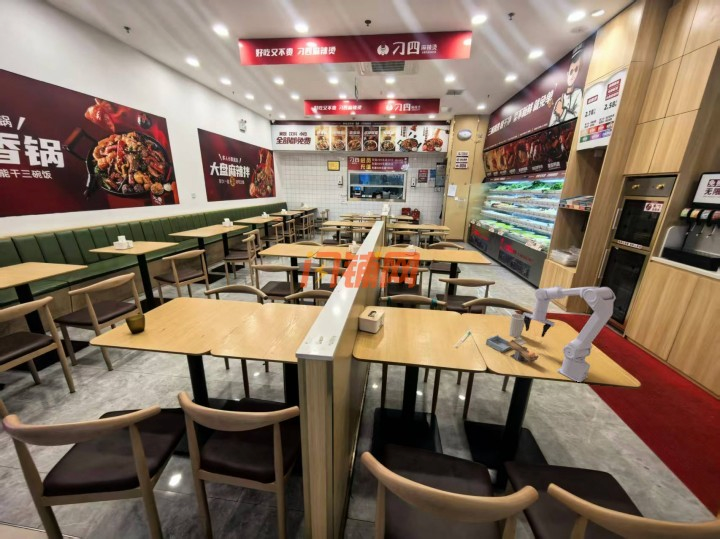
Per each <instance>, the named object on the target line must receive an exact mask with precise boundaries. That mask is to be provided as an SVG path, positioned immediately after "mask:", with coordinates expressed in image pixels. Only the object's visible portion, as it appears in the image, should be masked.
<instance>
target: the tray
mask: <svg viewBox="0 0 720 539" xmlns="http://www.w3.org/2000/svg"><path fill="white" fill-rule="evenodd" d="M507 342H510V341H509V340H507V339H505V338H503V337H501V336H499V334H495V335H493V336H490V337H487V338H486V342H485V345H487V347H489V348H492V349H493V350H495V351H496V352H499V353H504V352H507V351H508V350H511V349H512V348H511V347H509V346H508V345H507V344H506V343H507Z"/></svg>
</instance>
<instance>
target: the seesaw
mask: <svg viewBox="0 0 720 539" xmlns="http://www.w3.org/2000/svg"><path fill="white" fill-rule="evenodd" d="M506 344H507V345H508V346H509V347H511V349H512V350H514V351H516V350H518V351H520V355H522V356H523V357H524V358H526V359H527V360H526V361H528V362H530V363H533V362H535V361H537V360H538V359H539V355H537V354H536V356H535V357H533V358H531V357H529V355H528V354H529V352H530V350H528V349H525V348H524V347H525V346H523V345H525V344H527V341H526V340H525V339H524V338H522V337H519V338H514V339H511V340H510V341H509V342H507V343H506Z"/></svg>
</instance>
